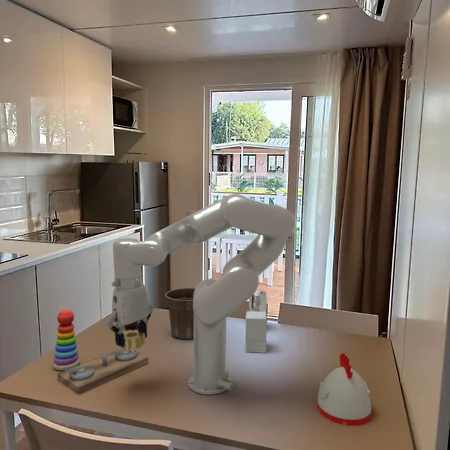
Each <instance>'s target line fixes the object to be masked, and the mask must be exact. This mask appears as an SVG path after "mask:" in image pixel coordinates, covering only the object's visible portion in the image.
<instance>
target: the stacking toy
mask: <svg viewBox="0 0 450 450" xmlns="http://www.w3.org/2000/svg"><path fill="white" fill-rule="evenodd" d="M56 318H57V319H56V320H57V322H58V325H57V332H56V338H55V342H56V344H55V345H54V347H55V350H54V355H53V358H52V359H53V363H52V367H53V368H54V370H57V371H61V372H63V371H66V370H68V369H71V368H73V367H76V366H79V365H80V358H79V354H78V351H79V349H78V347H77V345H78V343H77V342H76V340H77V337H76V335H75V334H76V331H75V330H74V329H75V325H74V323H73V322H74V319H75V314H74V312H73V311H72V310H71V309H69V308H68V309H67V308H65V309H62V310H60V311H59V312H58V314H57V316H56Z"/></svg>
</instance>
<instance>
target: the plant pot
mask: <svg viewBox="0 0 450 450" xmlns="http://www.w3.org/2000/svg"><path fill="white" fill-rule="evenodd" d="M195 288H196V287H195ZM195 288H194V287H181V288H180V287H179V288H175V289H172V290H169V291H167V292H166V293H165V294H164V296H165V298H166V303H167V307H168V312H169V324H170V334H171V336H172V337H173V338H175V339H177V338H179V339H180V340H192V339H193V340H194V311H193V294H194V290H195Z"/></svg>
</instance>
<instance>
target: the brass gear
mask: <svg viewBox="0 0 450 450" xmlns="http://www.w3.org/2000/svg"><path fill="white" fill-rule="evenodd" d="M122 333H124V343H125V346H124V347H120V346H118V347H119V348H120V349H122V350H123V349H126V350H129V349H132V350H136V349H141V348H142V347H144V346H145V344H146V338H145V333H142V331H138V329H137V330H136V329H134V330H132V329H128V330H127V331H122Z"/></svg>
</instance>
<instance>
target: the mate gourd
mask: <svg viewBox="0 0 450 450" xmlns="http://www.w3.org/2000/svg"><path fill="white" fill-rule="evenodd" d="M139 322H140V321H136V322H133V323H131V324H128V325H125V326H124V328H125V329H124V330H125V331H129V330H132V329H133V330H138V323H139Z"/></svg>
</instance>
